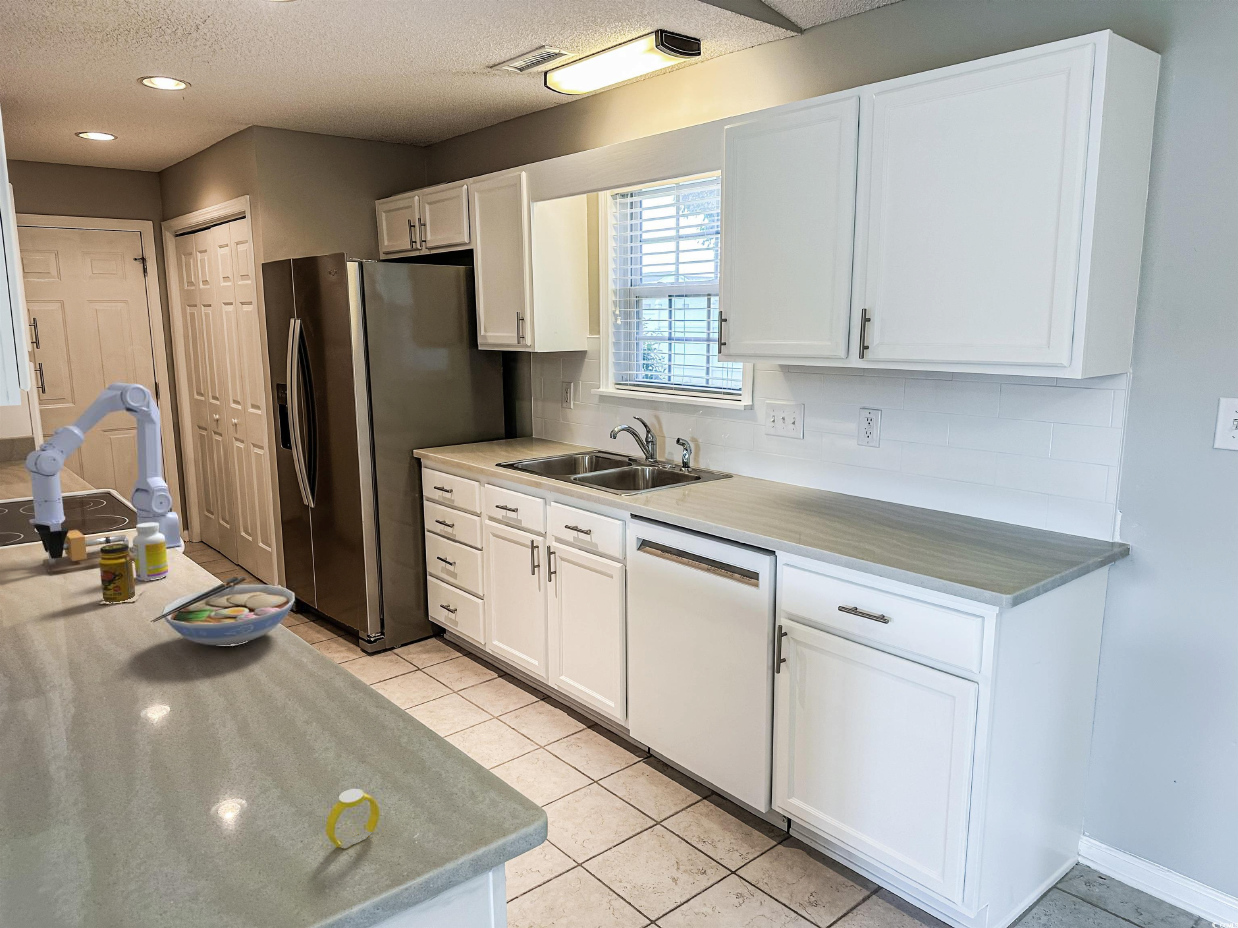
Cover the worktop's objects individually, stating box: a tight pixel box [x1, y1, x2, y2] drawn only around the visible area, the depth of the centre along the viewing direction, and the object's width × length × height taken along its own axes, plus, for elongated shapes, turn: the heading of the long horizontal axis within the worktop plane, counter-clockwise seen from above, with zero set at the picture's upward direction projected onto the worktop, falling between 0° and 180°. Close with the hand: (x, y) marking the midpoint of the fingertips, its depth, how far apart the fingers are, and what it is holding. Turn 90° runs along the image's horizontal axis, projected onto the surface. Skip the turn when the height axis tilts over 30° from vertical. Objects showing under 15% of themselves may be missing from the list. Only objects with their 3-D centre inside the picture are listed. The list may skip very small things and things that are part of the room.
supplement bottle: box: [132, 522, 169, 581], centre depth 196 cm, size 7×7×13 cm
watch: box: [325, 788, 380, 848], centre depth 96 cm, size 6×3×6 cm, turn 137°
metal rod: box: [47, 534, 131, 566], centre depth 208 cm, size 17×2×5 cm, turn 132°
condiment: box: [99, 542, 136, 603], centre depth 181 cm, size 7×8×12 cm
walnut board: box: [42, 550, 134, 576], centre depth 209 cm, size 18×13×1 cm
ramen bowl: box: [150, 576, 295, 646], centre depth 158 cm, size 25×23×8 cm
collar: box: [64, 529, 88, 561], centre depth 206 cm, size 3×9×6 cm, turn 43°
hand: (53, 554), depth 203 cm, fingers open, 7 cm apart
